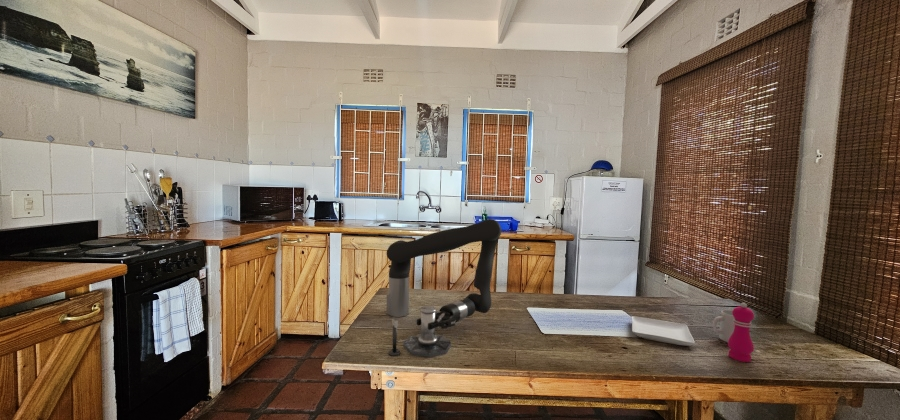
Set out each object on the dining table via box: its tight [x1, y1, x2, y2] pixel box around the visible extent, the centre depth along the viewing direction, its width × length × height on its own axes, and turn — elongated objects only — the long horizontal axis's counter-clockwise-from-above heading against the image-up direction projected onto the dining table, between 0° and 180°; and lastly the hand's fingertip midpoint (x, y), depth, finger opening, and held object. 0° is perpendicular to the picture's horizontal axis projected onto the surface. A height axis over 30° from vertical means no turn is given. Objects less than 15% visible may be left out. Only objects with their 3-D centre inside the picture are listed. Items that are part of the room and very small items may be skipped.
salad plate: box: [630, 315, 696, 347], centre depth 150 cm, size 21×21×3 cm
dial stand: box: [388, 317, 411, 357], centre depth 128 cm, size 8×4×12 cm, turn 119°
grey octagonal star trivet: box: [403, 333, 452, 359], centre depth 133 cm, size 16×16×2 cm
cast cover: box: [418, 305, 437, 344], centre depth 133 cm, size 7×7×12 cm
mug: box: [712, 309, 735, 343], centre depth 145 cm, size 12×8×11 cm
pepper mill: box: [727, 302, 755, 363], centre depth 130 cm, size 7×7×20 cm
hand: (423, 324), depth 131 cm, fingers closed on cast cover, 5 cm apart
